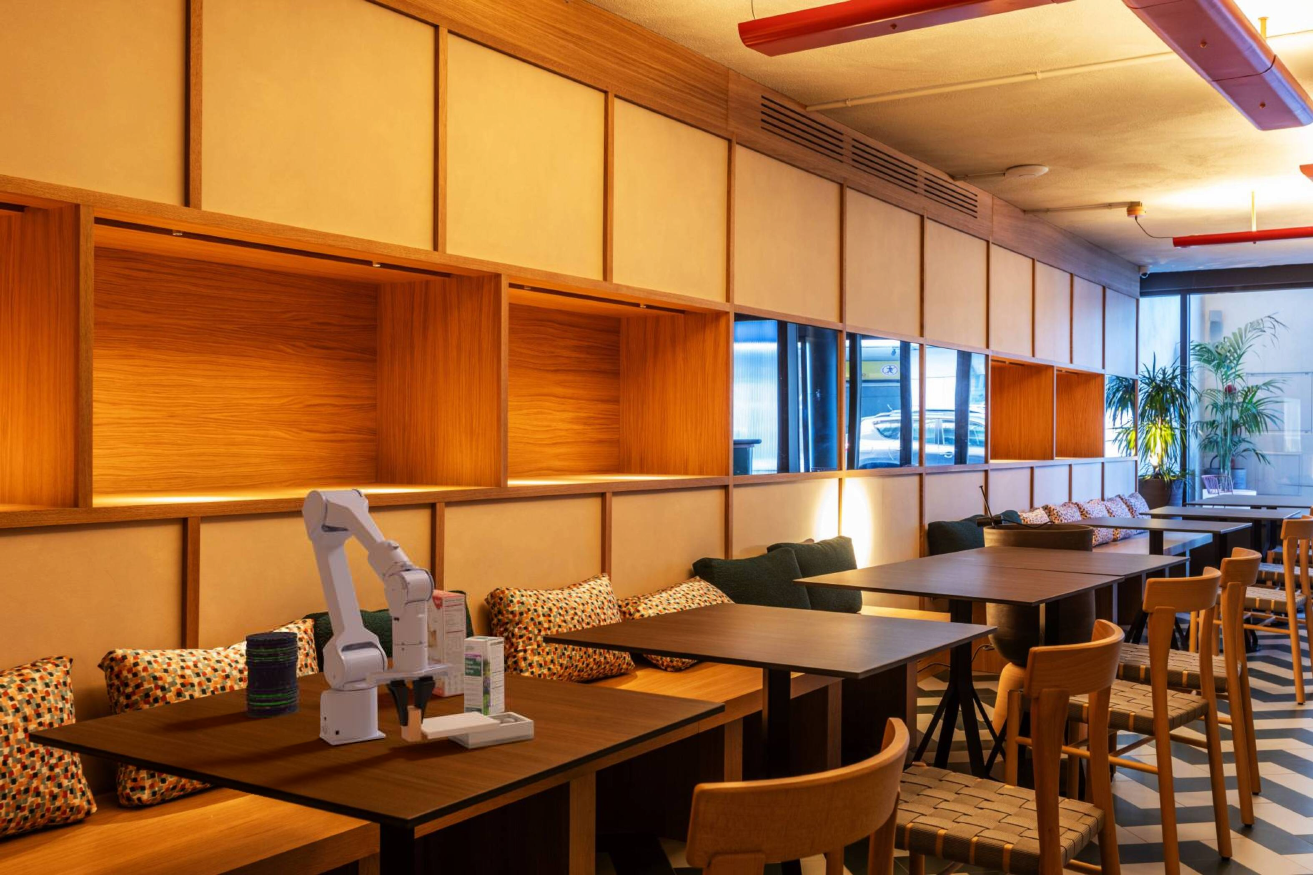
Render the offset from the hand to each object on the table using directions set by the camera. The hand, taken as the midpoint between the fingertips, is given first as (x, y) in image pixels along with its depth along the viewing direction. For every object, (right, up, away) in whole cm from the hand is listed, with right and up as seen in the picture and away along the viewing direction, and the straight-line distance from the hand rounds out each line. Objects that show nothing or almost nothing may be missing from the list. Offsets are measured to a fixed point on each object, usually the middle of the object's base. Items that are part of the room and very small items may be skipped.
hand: (411, 724), depth 191 cm
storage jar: (-34, -6, +33) cm, 48 cm away
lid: (+5, -2, +3) cm, 7 cm away
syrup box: (+8, -5, +27) cm, 29 cm away
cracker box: (-5, -6, +50) cm, 50 cm away
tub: (+12, -4, +8) cm, 15 cm away
